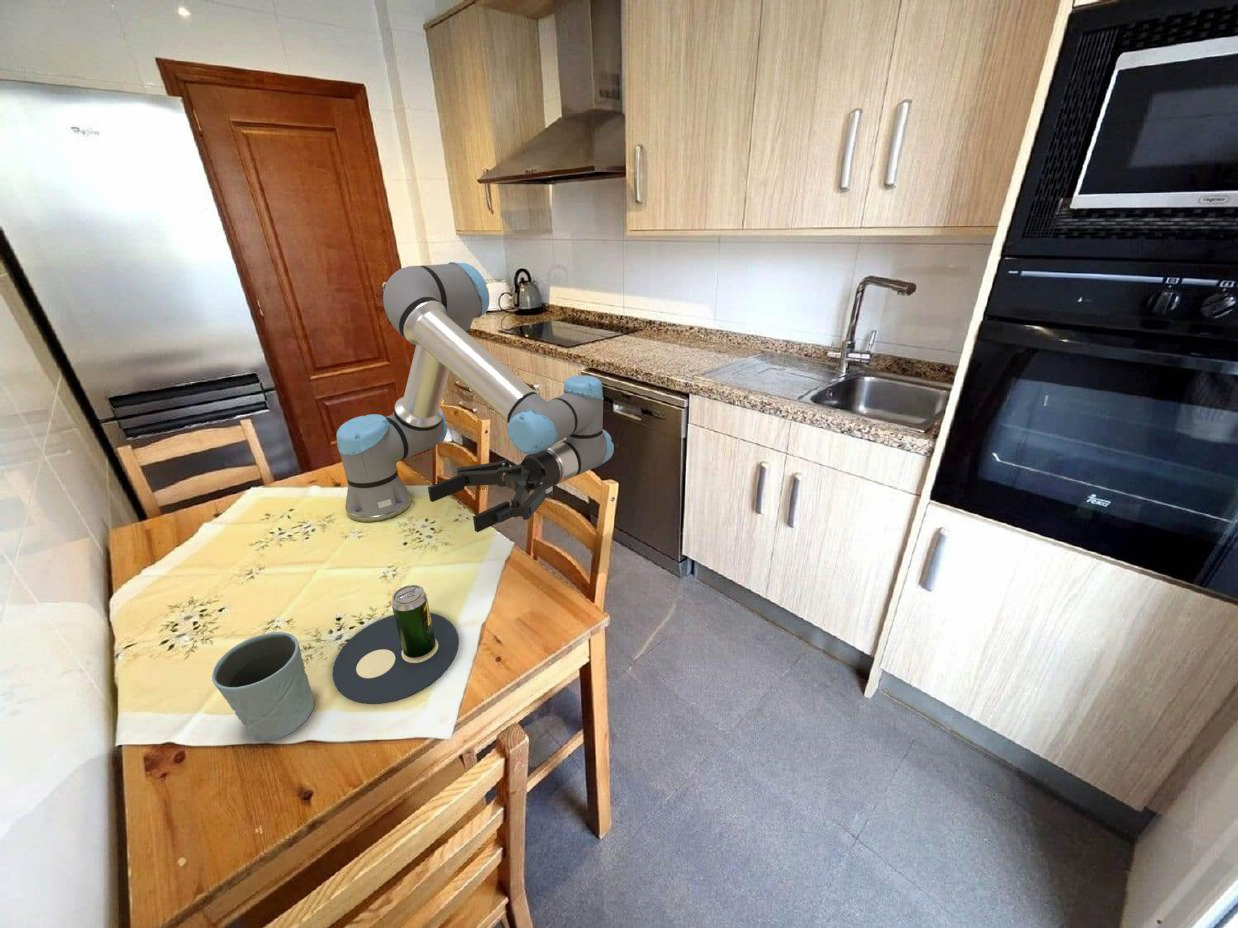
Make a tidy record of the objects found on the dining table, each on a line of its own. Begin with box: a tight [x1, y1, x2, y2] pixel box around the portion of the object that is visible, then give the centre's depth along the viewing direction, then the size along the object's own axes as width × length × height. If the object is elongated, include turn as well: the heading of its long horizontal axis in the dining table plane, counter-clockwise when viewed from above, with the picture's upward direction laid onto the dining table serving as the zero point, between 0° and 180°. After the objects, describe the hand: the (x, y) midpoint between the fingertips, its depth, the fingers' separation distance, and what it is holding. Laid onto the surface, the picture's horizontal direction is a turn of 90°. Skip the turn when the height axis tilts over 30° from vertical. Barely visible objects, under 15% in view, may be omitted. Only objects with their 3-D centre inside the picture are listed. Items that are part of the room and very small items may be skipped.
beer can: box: [391, 584, 436, 660], centre depth 84 cm, size 5×5×12 cm
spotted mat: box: [332, 612, 459, 705], centre depth 86 cm, size 20×20×1 cm
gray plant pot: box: [211, 631, 315, 742], centre depth 73 cm, size 10×10×12 cm
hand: (451, 508), depth 83 cm, fingers open, 13 cm apart
